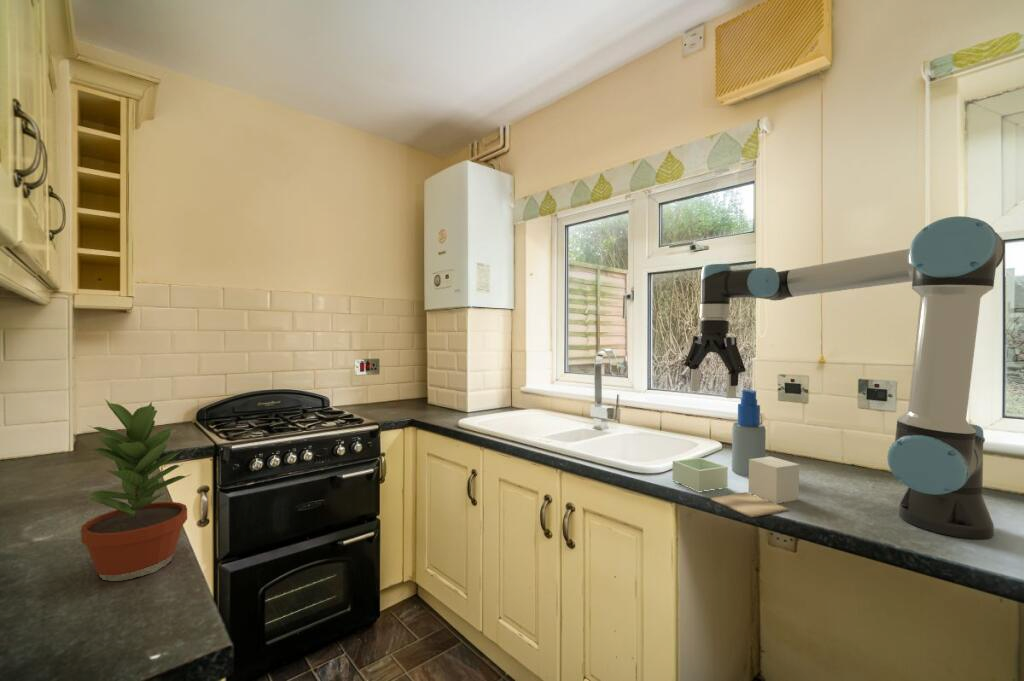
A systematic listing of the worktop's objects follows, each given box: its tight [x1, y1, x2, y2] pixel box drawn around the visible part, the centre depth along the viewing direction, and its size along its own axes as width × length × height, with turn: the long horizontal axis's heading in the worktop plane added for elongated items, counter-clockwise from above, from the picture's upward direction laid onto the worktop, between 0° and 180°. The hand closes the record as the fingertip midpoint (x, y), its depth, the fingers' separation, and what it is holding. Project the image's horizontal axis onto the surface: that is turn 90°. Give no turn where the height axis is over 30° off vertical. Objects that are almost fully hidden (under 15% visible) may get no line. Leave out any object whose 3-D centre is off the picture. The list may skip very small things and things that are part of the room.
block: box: [748, 456, 800, 505], centre depth 117 cm, size 8×8×9 cm
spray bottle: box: [731, 389, 767, 478], centre depth 137 cm, size 9×9×25 cm
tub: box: [672, 457, 729, 491], centre depth 126 cm, size 10×10×6 cm
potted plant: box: [80, 398, 192, 575], centre depth 81 cm, size 15×15×30 cm
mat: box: [710, 491, 790, 519], centre depth 111 cm, size 12×12×1 cm
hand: (712, 394), depth 129 cm, fingers open, 13 cm apart
